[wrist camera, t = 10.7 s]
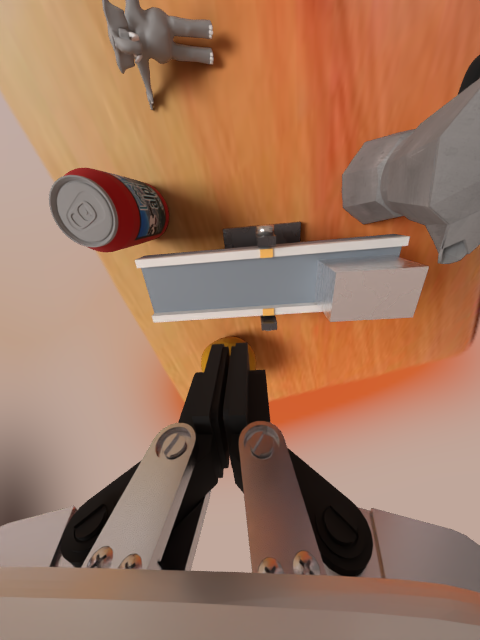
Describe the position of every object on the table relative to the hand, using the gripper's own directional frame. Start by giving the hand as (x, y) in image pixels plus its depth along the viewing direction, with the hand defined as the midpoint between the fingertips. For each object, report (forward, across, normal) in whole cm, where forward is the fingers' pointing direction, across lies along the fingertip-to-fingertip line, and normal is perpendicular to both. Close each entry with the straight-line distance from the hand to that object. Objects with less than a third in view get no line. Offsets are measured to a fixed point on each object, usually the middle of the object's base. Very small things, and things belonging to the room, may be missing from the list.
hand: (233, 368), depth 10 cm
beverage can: (+23, +12, -8) cm, 27 cm away
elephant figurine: (+23, +6, -22) cm, 32 cm away
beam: (+15, -3, 0) cm, 16 cm away
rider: (+14, -11, +1) cm, 18 cm away
